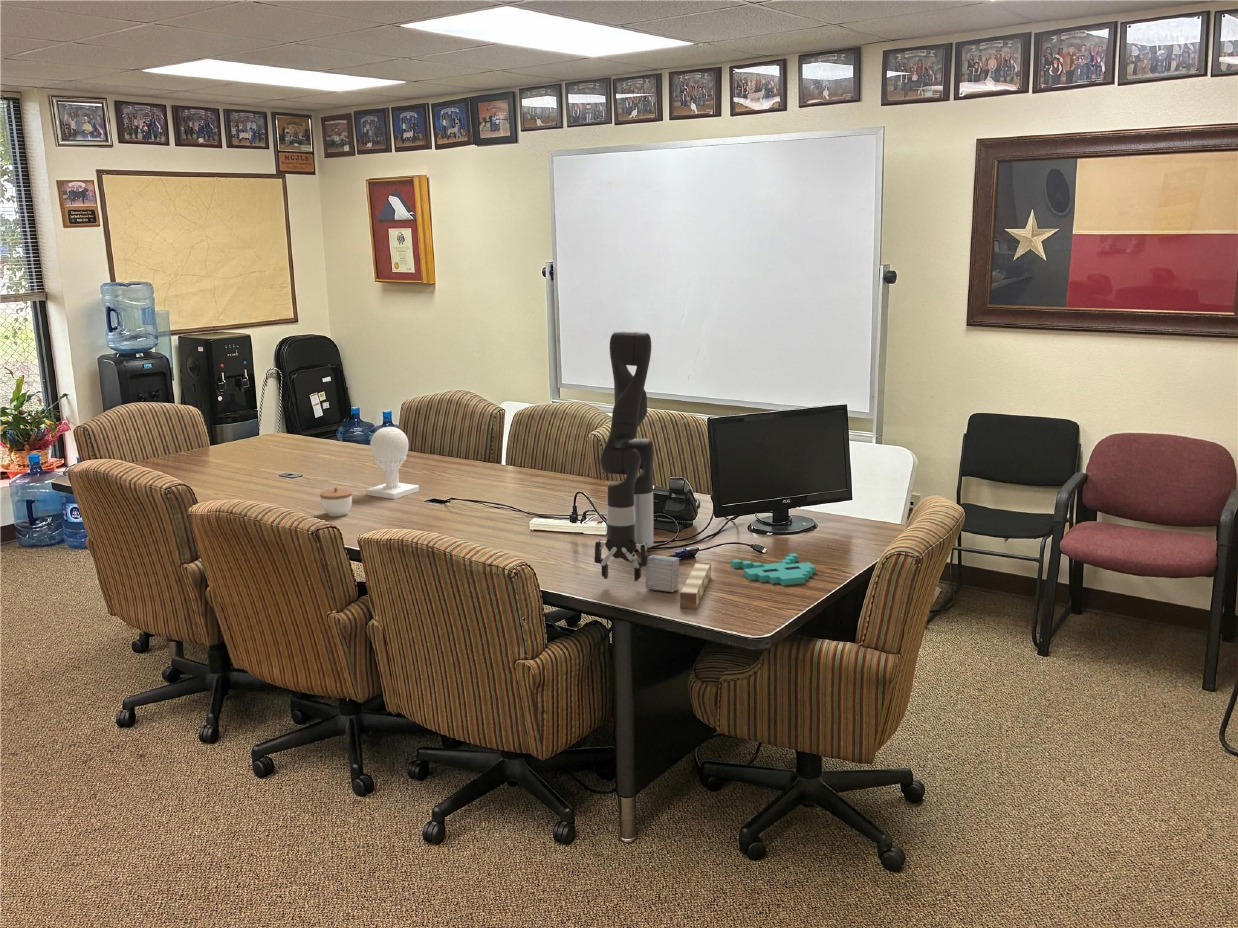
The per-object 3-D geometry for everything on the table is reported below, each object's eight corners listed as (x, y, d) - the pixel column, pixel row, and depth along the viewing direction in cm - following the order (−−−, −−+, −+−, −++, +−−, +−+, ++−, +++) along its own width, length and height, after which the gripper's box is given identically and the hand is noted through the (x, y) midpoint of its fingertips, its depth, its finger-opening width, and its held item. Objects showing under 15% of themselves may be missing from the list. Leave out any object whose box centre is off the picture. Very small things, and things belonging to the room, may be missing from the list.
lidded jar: (315, 517, 356) (313, 490, 354) (331, 509, 366) (329, 483, 364) (344, 519, 353) (342, 492, 351) (359, 511, 364) (357, 484, 361)
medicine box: (678, 589, 281) (679, 557, 280) (672, 592, 276) (673, 560, 275) (651, 585, 284) (652, 554, 283) (644, 588, 280) (646, 557, 279)
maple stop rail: (696, 576, 291) (696, 562, 290) (710, 576, 290) (710, 562, 289) (680, 607, 267) (680, 592, 266) (696, 609, 266) (696, 593, 265)
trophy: (365, 494, 386) (361, 428, 380) (390, 486, 397) (387, 422, 392) (394, 499, 379) (390, 432, 373) (419, 491, 391) (416, 425, 385)
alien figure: (731, 567, 300) (759, 589, 281) (731, 559, 299) (759, 581, 281) (794, 560, 305) (826, 581, 286) (795, 553, 305) (827, 574, 286)
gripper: (650, 519, 281) (649, 576, 284) (598, 516, 284) (599, 573, 287) (643, 526, 273) (643, 585, 277) (591, 523, 277) (591, 581, 280)
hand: (621, 579), depth 282 cm, fingers open, 8 cm apart
